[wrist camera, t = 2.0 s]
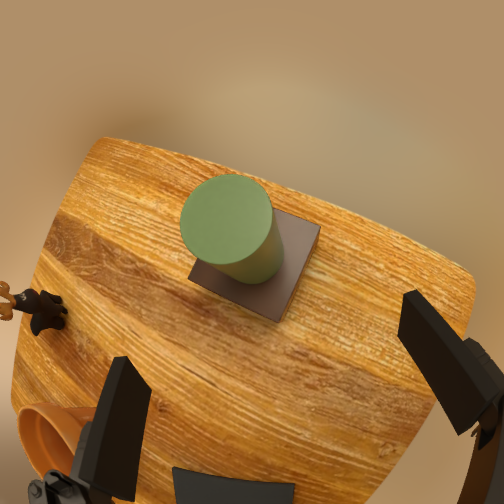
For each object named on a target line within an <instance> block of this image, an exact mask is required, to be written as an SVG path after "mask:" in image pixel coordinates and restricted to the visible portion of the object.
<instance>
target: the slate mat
mask: <svg viewBox="0 0 504 504" xmlns="http://www.w3.org/2000/svg"><path fill="white" fill-rule="evenodd" d="M172 473H173V481H174V489H175V496H176V503H177V504H292V501H293V493H294V485H295V484H294V483H272V482H259V481H249V480H240V479H233V478H226V477H220V476H214V475H209V474H204V473H199V472H194V471H190V470H186V469H182V468H178V467H173V468H172Z"/></svg>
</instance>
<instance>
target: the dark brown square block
mask: <svg viewBox="0 0 504 504" xmlns="http://www.w3.org/2000/svg"><path fill="white" fill-rule="evenodd" d="M273 211H274V214H275V218H276V221H277V225H278V228H279V232H280V235H281V239H282V242H283V247H284V258H283V262H282V265H281V267H280V268H279V270H278V271H277V273H276V274H275V275H274V276H273V277H271V278H270V279H268V280H267V281H265V282H262V283H258V284H246V283H242V282H239V281H237V280H236V279H234V278H232V277H230V276H228V275H227V274H225V273H223V272H221V271H219V270H218V269H216V268H214V267H212V266H211V265H209V264H207V263H205V262H204V261H202V260H200V259H198V258H197V260H196V262H195V264H194V266H193V268H192V270H191V272H190V275H189V277H188V280H190V281H192V282H194V283H196V284H198V285H200V286H202V287H204V288H206V289H208V290H210V291H212V292H214V293H216V294H218V295H220V296H222V297H224V298H226V299H228V300H230V301H232V302H234V303H236V304H239V305H241V306H243V307H245V308H247V309H249V310H251V311H253V312H255V313H258V314H260V315H262V316H264V317H266V318H268V319H270V320H273V321H275V322H277V323H280V322H282V321H283V319H284V317H285V315H286V313H287V311H288V309H289V306H290V304H291V302H292V300H293V298H294V295H295V293H296V291H297V289H298V286H299V284H300V282H301V280H302V277H303V275H304V273H305V270H306V268H307V266H308V264H309V261H310V259H311V256H312V254H313V252H314V249H315V247H316V244H317V242H318V239H319V234H320V228H321V226H319V225H317V224H314V223H312V222H309V221H307V220H304V219H302V218H299V217H297V216H294V215H291V214H289V213H286V212H284V211H281V210H278V209H276V208H273Z"/></svg>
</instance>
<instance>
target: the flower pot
mask: <svg viewBox="0 0 504 504" xmlns="http://www.w3.org/2000/svg"><path fill="white" fill-rule="evenodd" d="M95 411H96V408H62V407H60V406H58V405H56V404H53V403H49V402H44V403H36V404H30V405H24V406H23V407H21V409H20V410H19V412H18V417H17V428H18V433H19V438H20V441H21V444H22V446H23V449H24V451H25V453H26V455H27V457H28V459H29V461H30V463H31V465H32V466H33V468H34V469H35V471H36V472H37V474H38V475H39V476H40V478H41V479H42V480H43V477H44V475H45V474H46V472H48V471H49V470H52V469H55V470H58V471H60V472H61V473H63V474H65V475H66V476H68V477H69V474H70V471H71V467H72V463H73V459H74V455H75V451H76V448H77V444H78V441H79V437H80V434H81V430H82V428H83V427H84V425H85V424H86V423H87V421H93V418H94V414H95Z"/></svg>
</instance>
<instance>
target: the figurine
mask: <svg viewBox="0 0 504 504" xmlns="http://www.w3.org/2000/svg"><path fill="white" fill-rule="evenodd" d="M0 285H1V286H2V287H0V296H2V297H4V298H6V299H8V300H9V301H10V303H0V314H1V315H4V316H1V317H0V319H1V320H5V321H9V320H11V319H12V318H13V312H12V309H15V310H19V311H23V312H25V313H28V314H33V316H32V319H31V323H30V327H31V331H32V333H33V334H34V335H35V336H38V334H39V332H40V331H41V330H44V329H48V328H54V329H57V330H62V329H63V327H64V320H63V319H62V318H60V317H58V315H59V314H60V313H61V312H62V313H63V314H67V313H68V312H67V309H66V308H65V307H64V306H62V305H60V303H61V297H60V296H58V295H53V294H50V293H48V292H46V291H44V290H42V291H41V293H40V295H39V294H38V293H37V292H36V291H35V290H33V289H26V290H25V291H24V292H22V293H21V294H17V295H11V294H9V289H10V287H9V285H8V284H7V283H5V282H3V281H0Z"/></svg>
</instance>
